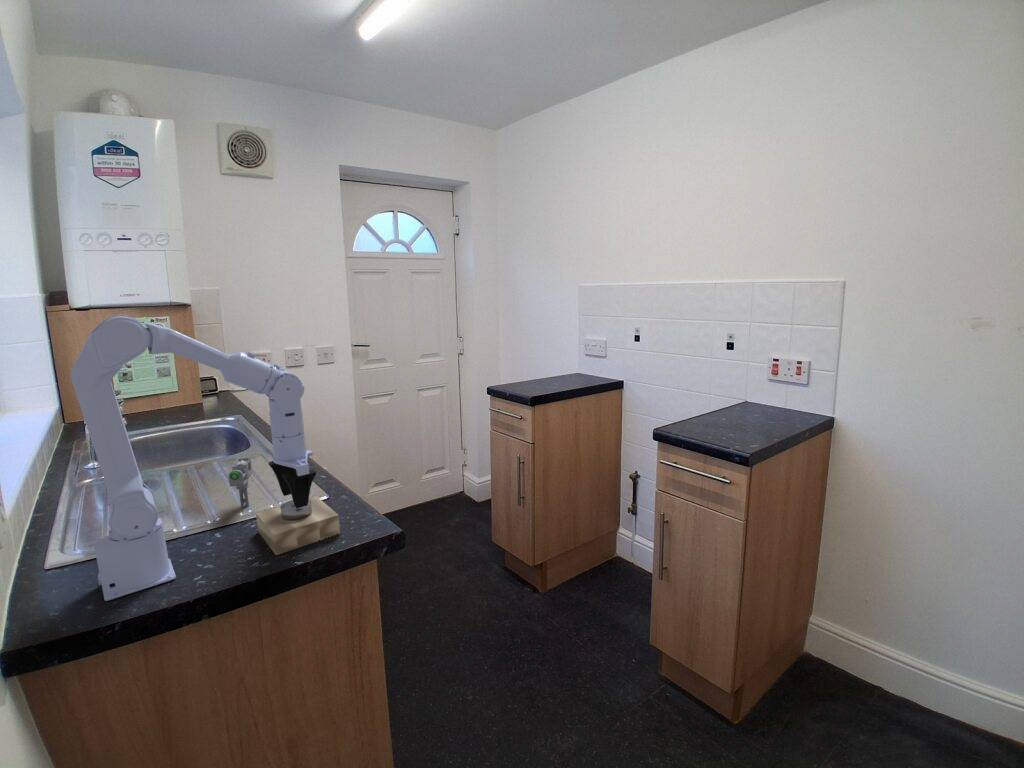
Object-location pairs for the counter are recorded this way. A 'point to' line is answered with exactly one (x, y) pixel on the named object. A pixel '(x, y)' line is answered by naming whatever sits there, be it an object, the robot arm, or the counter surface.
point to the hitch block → (297, 527)
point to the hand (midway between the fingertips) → (295, 500)
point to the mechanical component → (241, 477)
